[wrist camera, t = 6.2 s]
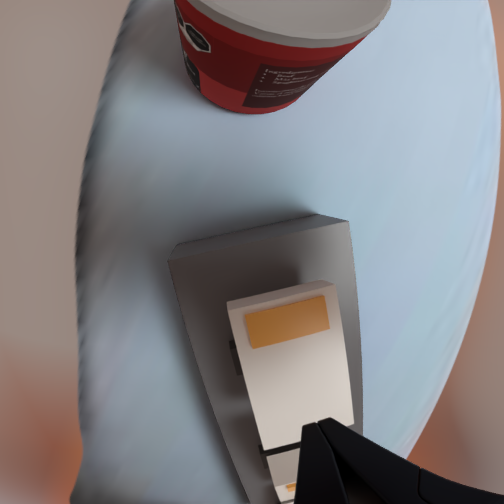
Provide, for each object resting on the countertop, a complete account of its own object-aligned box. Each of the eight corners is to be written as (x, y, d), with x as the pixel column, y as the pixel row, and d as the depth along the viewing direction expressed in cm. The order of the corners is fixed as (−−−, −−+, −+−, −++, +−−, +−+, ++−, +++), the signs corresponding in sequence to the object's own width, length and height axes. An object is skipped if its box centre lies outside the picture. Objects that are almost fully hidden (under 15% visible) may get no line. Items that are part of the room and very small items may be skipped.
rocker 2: (334, 463, 18) (343, 486, 17) (274, 480, 18) (281, 504, 16) (348, 432, 14) (361, 464, 12) (266, 456, 14) (275, 490, 12)
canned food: (212, 1, 16) (222, -115, 5) (322, 41, 18) (405, -48, 7) (164, 93, 17) (122, -3, 6) (286, 136, 19) (373, 82, 8)
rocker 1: (341, 407, 15) (355, 425, 13) (259, 430, 14) (264, 452, 12) (321, 279, 14) (337, 284, 12) (226, 301, 14) (227, 311, 12)
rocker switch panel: (343, 493, 26) (360, 527, 21) (264, 515, 25) (272, 552, 20) (318, 214, 20) (356, 222, 15) (176, 244, 19) (165, 265, 14)
